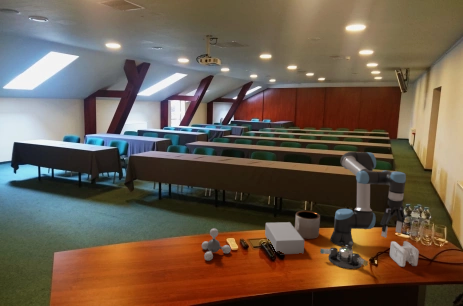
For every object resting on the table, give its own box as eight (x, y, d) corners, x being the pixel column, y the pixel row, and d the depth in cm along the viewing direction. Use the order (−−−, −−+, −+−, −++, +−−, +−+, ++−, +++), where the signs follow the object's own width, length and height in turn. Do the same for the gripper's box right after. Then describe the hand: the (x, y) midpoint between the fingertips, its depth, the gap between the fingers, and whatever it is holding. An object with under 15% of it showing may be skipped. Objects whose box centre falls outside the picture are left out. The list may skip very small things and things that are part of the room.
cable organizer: (417, 268, 195) (420, 251, 193) (401, 268, 195) (403, 250, 193) (403, 256, 210) (406, 240, 208) (388, 256, 209) (390, 239, 207)
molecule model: (201, 269, 200) (213, 252, 189) (189, 248, 208) (200, 230, 197) (225, 259, 214) (238, 242, 202) (214, 240, 221) (225, 223, 210)
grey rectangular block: (335, 256, 204) (336, 247, 203) (337, 259, 200) (338, 250, 199) (319, 255, 205) (320, 246, 204) (321, 259, 200) (321, 250, 199)
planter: (319, 232, 245) (321, 212, 242) (317, 241, 229) (319, 220, 226) (296, 228, 251) (297, 209, 248) (292, 237, 234) (293, 216, 232)
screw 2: (349, 263, 196) (350, 254, 195) (354, 261, 198) (355, 252, 197) (363, 271, 187) (364, 261, 186) (368, 269, 189) (369, 260, 188)
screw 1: (350, 256, 205) (351, 247, 204) (343, 254, 208) (344, 245, 207) (354, 250, 214) (355, 241, 213) (347, 248, 216) (348, 239, 215)
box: (289, 234, 240) (290, 222, 238) (303, 253, 210) (304, 239, 209) (265, 235, 237) (265, 222, 236) (275, 254, 208) (276, 240, 206)
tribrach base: (321, 256, 206) (322, 245, 205) (344, 250, 216) (345, 239, 214) (345, 272, 189) (347, 259, 188) (369, 264, 198) (370, 252, 197)
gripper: (388, 204, 173) (383, 241, 176) (414, 198, 185) (410, 232, 189) (375, 200, 179) (371, 236, 183) (402, 194, 192) (397, 228, 195)
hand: (391, 234), depth 186 cm, fingers open, 13 cm apart
